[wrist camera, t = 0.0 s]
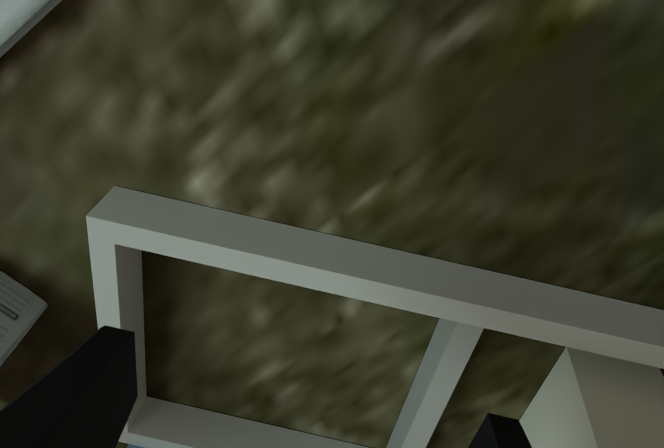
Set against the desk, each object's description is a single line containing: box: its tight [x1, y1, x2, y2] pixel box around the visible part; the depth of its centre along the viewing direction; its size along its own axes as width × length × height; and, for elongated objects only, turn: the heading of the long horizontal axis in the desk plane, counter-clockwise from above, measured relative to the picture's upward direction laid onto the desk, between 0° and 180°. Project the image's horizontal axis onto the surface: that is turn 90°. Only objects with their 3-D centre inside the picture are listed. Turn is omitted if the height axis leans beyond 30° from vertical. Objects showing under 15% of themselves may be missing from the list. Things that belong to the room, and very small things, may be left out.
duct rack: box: [86, 186, 664, 448], centre depth 23 cm, size 15×29×4 cm, turn 80°
